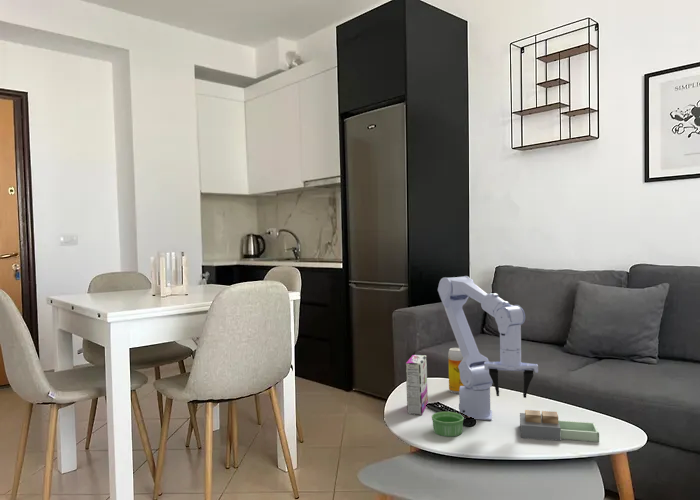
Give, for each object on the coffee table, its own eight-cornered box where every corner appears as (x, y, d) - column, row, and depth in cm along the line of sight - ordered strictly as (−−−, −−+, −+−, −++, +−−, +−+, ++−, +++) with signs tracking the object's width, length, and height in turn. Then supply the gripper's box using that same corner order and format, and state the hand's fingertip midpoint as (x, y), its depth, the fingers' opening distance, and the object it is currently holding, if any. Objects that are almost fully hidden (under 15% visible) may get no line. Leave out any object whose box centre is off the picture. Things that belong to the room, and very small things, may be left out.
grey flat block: (521, 437, 145) (521, 425, 144) (520, 424, 154) (519, 412, 154) (560, 440, 142) (560, 427, 142) (556, 427, 152) (556, 415, 151)
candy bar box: (413, 403, 176) (412, 354, 176) (428, 404, 174) (427, 355, 174) (406, 414, 165) (405, 362, 165) (421, 415, 164) (420, 363, 163)
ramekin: (432, 425, 156) (431, 410, 155) (463, 426, 154) (463, 411, 154) (431, 437, 147) (431, 421, 147) (464, 438, 145) (464, 422, 145)
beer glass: (462, 394, 184) (461, 351, 183) (446, 392, 187) (445, 350, 187) (468, 390, 189) (468, 348, 188) (452, 387, 192) (452, 346, 192)
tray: (561, 439, 143) (561, 429, 143) (558, 429, 150) (557, 420, 150) (599, 442, 140) (599, 432, 140) (594, 431, 148) (594, 422, 148)
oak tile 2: (542, 422, 146) (542, 415, 146) (541, 417, 150) (541, 410, 150) (558, 423, 145) (558, 416, 145) (556, 418, 149) (556, 411, 148)
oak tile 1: (525, 421, 147) (525, 414, 147) (525, 416, 151) (525, 409, 151) (541, 422, 146) (540, 415, 146) (539, 417, 150) (539, 410, 150)
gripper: (483, 350, 147) (484, 398, 148) (538, 352, 144) (539, 401, 144) (484, 345, 154) (485, 391, 155) (536, 346, 150) (537, 394, 151)
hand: (511, 395), depth 150 cm, fingers open, 7 cm apart
